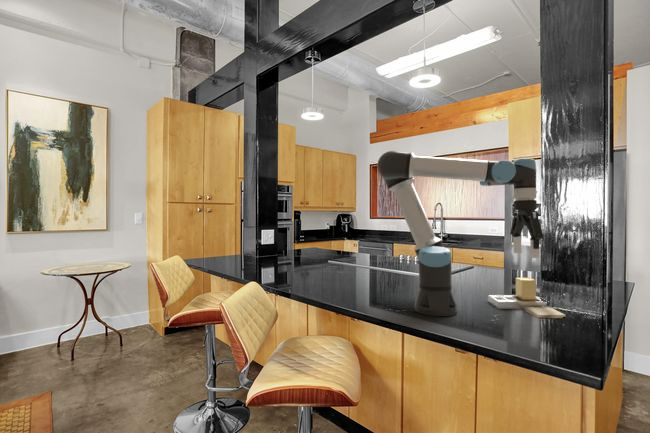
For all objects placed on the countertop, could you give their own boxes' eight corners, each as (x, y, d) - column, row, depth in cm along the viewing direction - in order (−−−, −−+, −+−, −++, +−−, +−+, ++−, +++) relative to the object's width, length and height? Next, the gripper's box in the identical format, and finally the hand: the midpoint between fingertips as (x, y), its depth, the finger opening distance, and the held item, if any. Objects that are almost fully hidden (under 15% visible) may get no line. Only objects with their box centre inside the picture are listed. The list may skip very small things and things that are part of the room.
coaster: (537, 319, 114) (537, 314, 114) (524, 311, 123) (524, 307, 123) (565, 319, 114) (565, 315, 114) (550, 311, 123) (550, 307, 123)
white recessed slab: (498, 309, 126) (498, 301, 126) (488, 302, 136) (488, 294, 136) (549, 310, 124) (549, 301, 124) (535, 302, 134) (535, 295, 134)
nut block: (522, 306, 127) (521, 280, 127) (515, 303, 132) (515, 277, 132) (536, 307, 127) (535, 280, 127) (529, 303, 132) (529, 277, 132)
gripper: (554, 198, 116) (555, 259, 116) (519, 200, 141) (520, 251, 141) (531, 198, 117) (532, 260, 117) (500, 201, 142) (501, 251, 142)
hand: (525, 255), depth 129 cm, fingers open, 13 cm apart
